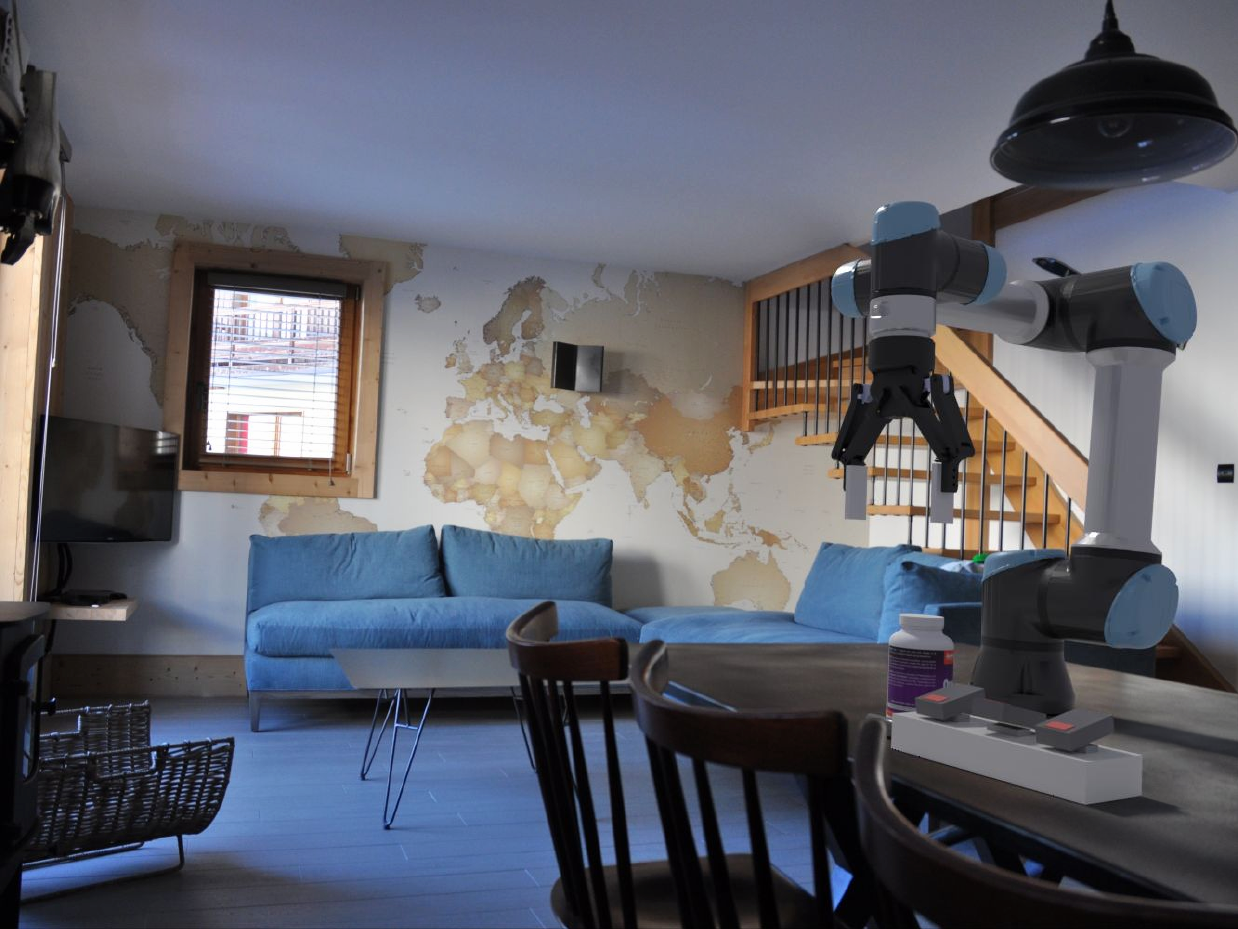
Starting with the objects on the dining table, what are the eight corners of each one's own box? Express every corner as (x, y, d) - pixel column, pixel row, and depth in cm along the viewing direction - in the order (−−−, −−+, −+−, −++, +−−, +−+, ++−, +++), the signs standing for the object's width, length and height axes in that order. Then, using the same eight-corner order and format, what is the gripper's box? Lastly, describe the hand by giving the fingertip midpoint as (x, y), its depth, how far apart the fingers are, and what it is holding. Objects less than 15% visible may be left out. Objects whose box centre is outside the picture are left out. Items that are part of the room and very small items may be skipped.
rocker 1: (958, 697, 124) (956, 682, 124) (985, 703, 120) (984, 687, 120) (916, 713, 120) (914, 697, 120) (943, 720, 117) (942, 703, 117)
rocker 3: (1079, 724, 110) (1077, 706, 110) (1114, 732, 107) (1112, 714, 107) (1036, 742, 107) (1034, 724, 106) (1071, 751, 103) (1069, 732, 103)
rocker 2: (1012, 723, 117) (1015, 706, 117) (1043, 730, 113) (1046, 713, 114) (970, 713, 113) (974, 696, 114) (1001, 721, 110) (1004, 703, 110)
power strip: (895, 729, 133) (897, 692, 133) (1141, 795, 105) (1142, 748, 105) (842, 734, 128) (844, 695, 129) (1084, 804, 100) (1086, 754, 100)
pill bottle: (954, 738, 130) (958, 620, 130) (887, 732, 131) (891, 616, 132) (947, 725, 138) (951, 615, 138) (884, 720, 139) (888, 611, 140)
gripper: (806, 346, 131) (800, 517, 130) (963, 319, 109) (957, 524, 108) (852, 353, 135) (846, 519, 134) (1012, 328, 113) (1007, 526, 112)
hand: (896, 521), depth 121 cm, fingers open, 13 cm apart
